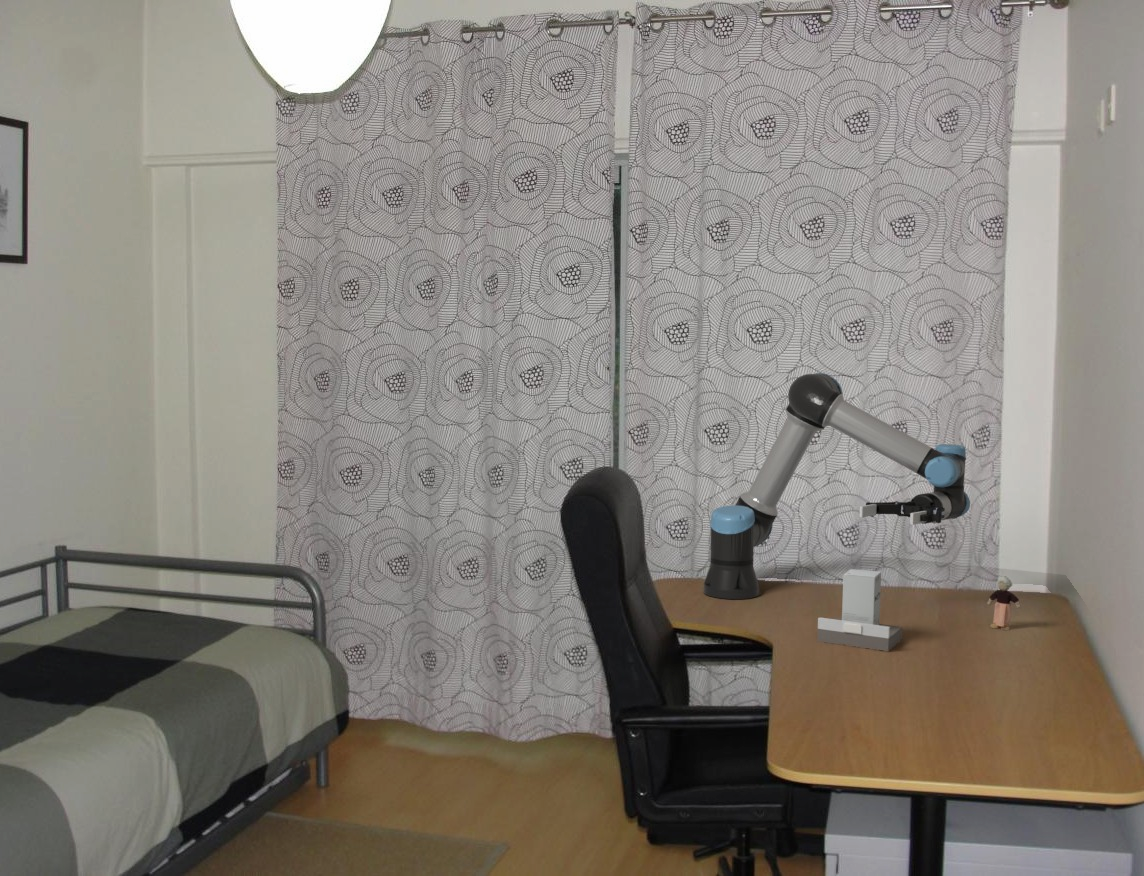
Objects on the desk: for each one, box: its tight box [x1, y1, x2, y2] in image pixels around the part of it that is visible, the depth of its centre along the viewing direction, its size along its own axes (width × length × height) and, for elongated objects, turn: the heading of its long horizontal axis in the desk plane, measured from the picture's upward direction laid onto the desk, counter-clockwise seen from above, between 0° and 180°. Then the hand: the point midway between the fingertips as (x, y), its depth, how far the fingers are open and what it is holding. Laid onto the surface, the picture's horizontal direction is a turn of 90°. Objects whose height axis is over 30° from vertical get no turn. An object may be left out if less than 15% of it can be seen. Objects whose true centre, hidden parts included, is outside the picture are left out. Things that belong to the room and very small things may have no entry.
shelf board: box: [817, 617, 903, 652], centre depth 248 cm, size 16×12×5 cm
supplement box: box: [841, 568, 882, 625], centre depth 249 cm, size 7×7×13 cm
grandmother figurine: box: [987, 575, 1022, 631], centre depth 261 cm, size 8×4×13 cm, turn 62°
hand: (885, 515), depth 262 cm, fingers open, 13 cm apart
